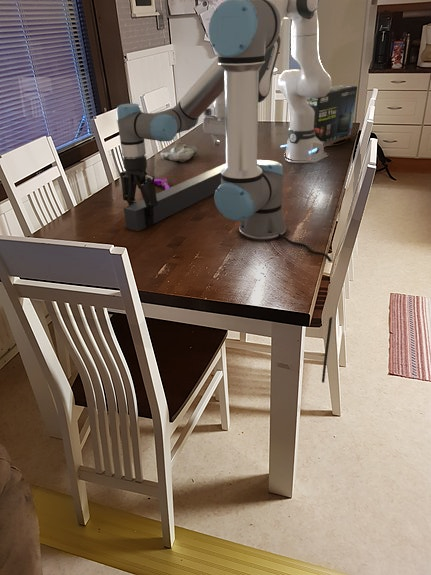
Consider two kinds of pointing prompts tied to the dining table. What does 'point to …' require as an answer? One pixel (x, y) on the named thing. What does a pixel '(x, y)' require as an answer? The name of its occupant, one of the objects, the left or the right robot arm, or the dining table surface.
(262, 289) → the dining table surface
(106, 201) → the dining table surface
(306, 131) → the right robot arm
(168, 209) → the bar
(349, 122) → the router box
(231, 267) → the dining table surface
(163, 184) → the handgun
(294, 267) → the dining table surface
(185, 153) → the fossil
